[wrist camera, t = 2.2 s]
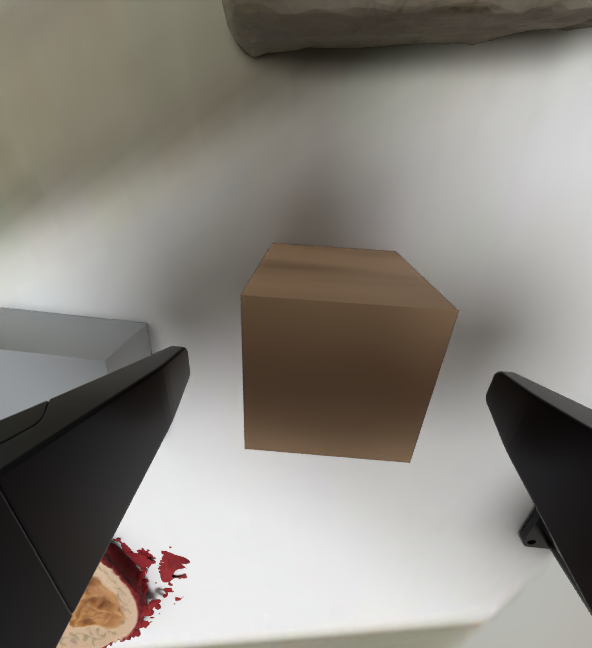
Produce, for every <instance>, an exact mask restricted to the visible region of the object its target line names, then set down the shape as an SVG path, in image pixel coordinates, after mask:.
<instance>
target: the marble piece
mask: <svg viewBox="0 0 592 648" xmlns="http://www.w3.org/2000/svg"><path fill="white" fill-rule="evenodd" d="M222 4H223V8H224V12H225V16H226V20H227V24H228V27H229V29H230V31H231V33H232V35H233V37H234V38H235V40H236V41H237V43H238V44H239V45H240V46H241V47H242V48H243V49H244V50H245V51H246V52H247V53H248V54H250V55H251V56H253V57H257V56H259V55H262V54H265V53H271V52H286V51H296V50H299V49H303V48H307V47H314V48H325V47H328V48H366V47H370V46H372V47H382V46H389V45H398V44H424V43H433V44H451V43H456V44H470V45H474V44H477V43H480V42H483V41H490V40H493V39H494V38H496V37H500V36H507V35H510V34H513V33H520V32H526V31H531V30H537V29H559V30H573V29H579V28H586V27H592V0H222Z"/></svg>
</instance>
